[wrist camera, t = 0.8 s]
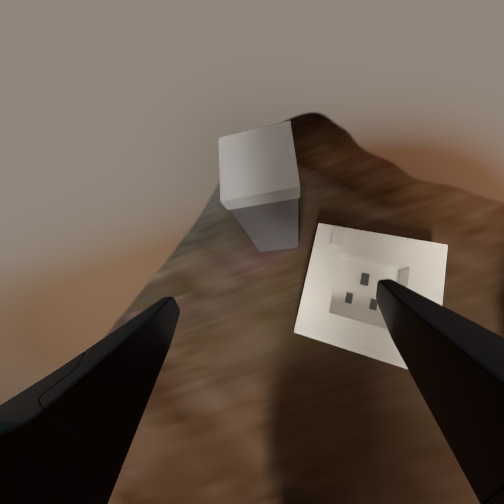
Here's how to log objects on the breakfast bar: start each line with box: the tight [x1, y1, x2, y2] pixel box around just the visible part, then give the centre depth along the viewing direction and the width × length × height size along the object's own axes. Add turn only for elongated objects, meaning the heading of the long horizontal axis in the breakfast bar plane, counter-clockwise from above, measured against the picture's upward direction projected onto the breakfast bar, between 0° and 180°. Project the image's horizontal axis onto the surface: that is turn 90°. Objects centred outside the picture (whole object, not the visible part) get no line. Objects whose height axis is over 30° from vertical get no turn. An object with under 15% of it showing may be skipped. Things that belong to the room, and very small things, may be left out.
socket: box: [294, 223, 448, 369], centre depth 19 cm, size 11×11×3 cm
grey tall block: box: [219, 121, 300, 252], centre depth 18 cm, size 5×5×12 cm
